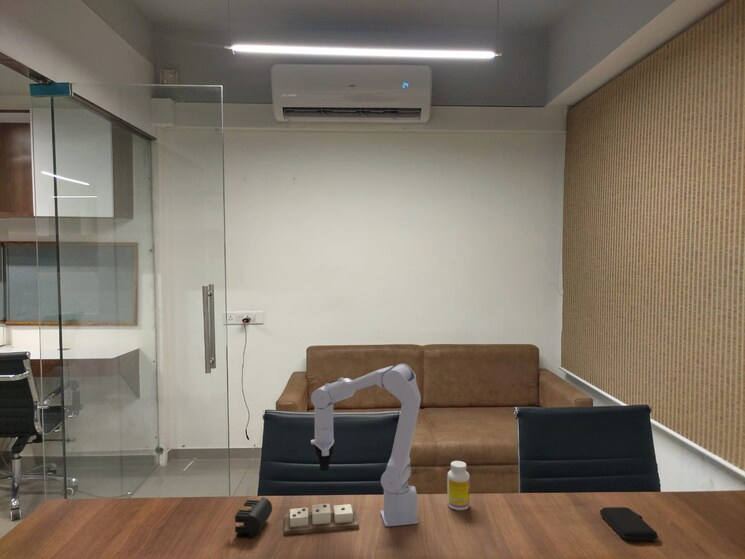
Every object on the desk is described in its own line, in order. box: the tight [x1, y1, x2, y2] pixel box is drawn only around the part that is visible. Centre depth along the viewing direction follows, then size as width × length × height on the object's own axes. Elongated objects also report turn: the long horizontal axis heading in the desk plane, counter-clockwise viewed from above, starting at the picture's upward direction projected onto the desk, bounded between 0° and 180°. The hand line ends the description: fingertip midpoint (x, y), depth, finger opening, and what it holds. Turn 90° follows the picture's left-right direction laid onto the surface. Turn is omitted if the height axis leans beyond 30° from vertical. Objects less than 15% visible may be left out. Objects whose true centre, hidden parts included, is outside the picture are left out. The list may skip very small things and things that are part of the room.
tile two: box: [311, 503, 331, 525], centre depth 133 cm, size 5×5×3 cm
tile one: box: [333, 503, 353, 523], centre depth 134 cm, size 5×5×3 cm
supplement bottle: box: [446, 460, 471, 511], centre depth 142 cm, size 7×7×13 cm
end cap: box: [234, 496, 273, 540], centre depth 130 cm, size 10×7×7 cm
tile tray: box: [283, 507, 360, 536], centre depth 133 cm, size 20×9×1 cm, turn 99°
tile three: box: [289, 507, 309, 527], centre depth 132 cm, size 5×5×3 cm
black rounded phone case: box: [599, 506, 659, 543], centre depth 130 cm, size 11×3×15 cm
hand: (324, 469), depth 144 cm, fingers closed
